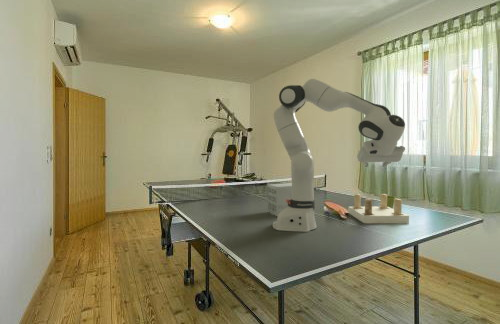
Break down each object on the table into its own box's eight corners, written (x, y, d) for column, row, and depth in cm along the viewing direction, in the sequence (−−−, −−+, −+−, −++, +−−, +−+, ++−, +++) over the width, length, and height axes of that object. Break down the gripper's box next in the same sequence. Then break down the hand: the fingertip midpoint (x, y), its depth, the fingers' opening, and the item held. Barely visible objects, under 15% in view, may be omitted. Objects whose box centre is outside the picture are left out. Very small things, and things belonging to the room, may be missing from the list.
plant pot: (396, 212, 174) (396, 198, 173) (380, 211, 177) (380, 197, 176) (394, 208, 183) (394, 195, 182) (378, 208, 186) (378, 195, 185)
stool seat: (363, 223, 148) (364, 200, 147) (348, 212, 172) (348, 193, 171) (408, 223, 148) (409, 200, 147) (387, 212, 172) (387, 193, 171)
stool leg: (366, 220, 150) (366, 199, 150) (363, 218, 154) (363, 198, 153) (372, 220, 150) (373, 200, 150) (370, 218, 154) (370, 198, 153)
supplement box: (291, 209, 182) (291, 182, 181) (301, 214, 169) (302, 185, 168) (267, 212, 176) (267, 183, 175) (276, 216, 163) (276, 186, 162)
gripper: (404, 141, 131) (393, 161, 141) (360, 141, 131) (353, 161, 141) (409, 151, 127) (397, 170, 137) (364, 151, 127) (356, 170, 137)
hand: (374, 165), depth 139 cm, fingers open, 8 cm apart
